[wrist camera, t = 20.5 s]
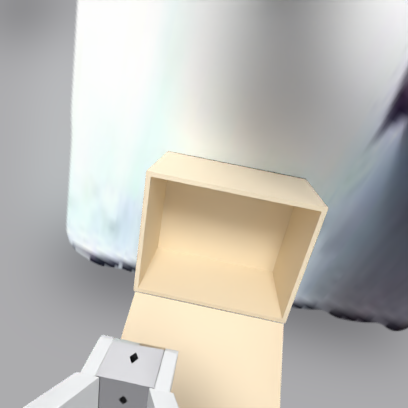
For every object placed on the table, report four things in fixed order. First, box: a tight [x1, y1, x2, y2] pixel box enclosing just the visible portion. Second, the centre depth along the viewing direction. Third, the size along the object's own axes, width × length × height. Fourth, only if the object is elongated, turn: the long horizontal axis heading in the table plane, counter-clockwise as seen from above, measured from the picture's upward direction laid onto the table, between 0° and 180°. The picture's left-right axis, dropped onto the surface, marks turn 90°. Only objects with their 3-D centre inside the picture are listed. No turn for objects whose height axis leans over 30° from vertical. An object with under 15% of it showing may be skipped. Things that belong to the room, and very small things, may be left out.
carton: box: [134, 151, 328, 323], centre depth 44 cm, size 18×22×12 cm
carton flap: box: [121, 292, 283, 408], centre depth 37 cm, size 14×21×1 cm
